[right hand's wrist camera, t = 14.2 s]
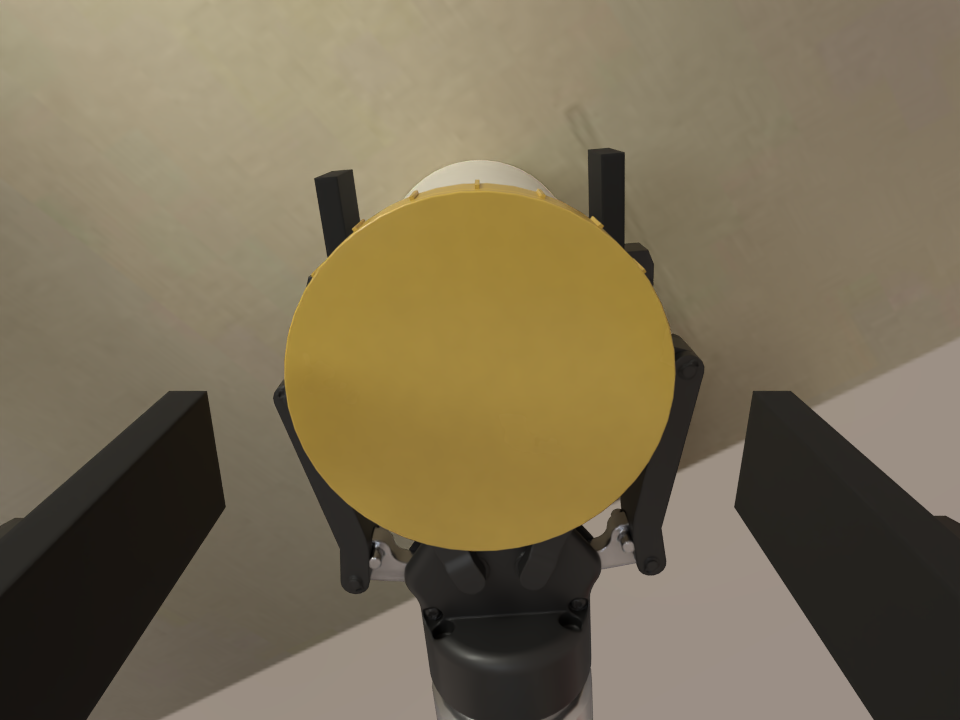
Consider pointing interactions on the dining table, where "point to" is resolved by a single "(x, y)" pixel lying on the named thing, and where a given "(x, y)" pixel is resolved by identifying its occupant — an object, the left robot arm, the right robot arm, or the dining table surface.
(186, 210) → the dining table surface
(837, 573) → the right robot arm
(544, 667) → the left robot arm
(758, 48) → the dining table surface
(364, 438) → the lid
